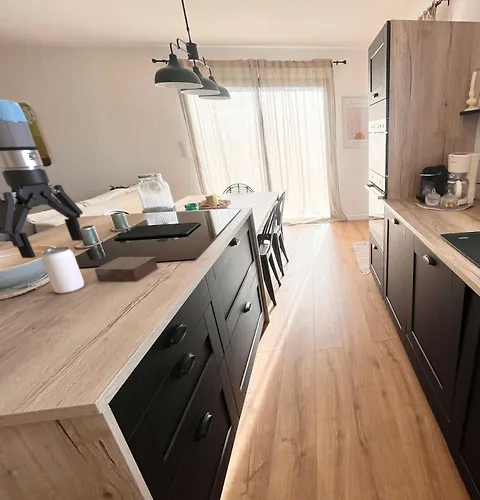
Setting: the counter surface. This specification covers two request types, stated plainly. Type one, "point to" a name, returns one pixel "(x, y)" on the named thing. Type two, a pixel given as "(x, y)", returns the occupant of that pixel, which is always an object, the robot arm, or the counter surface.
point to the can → (62, 269)
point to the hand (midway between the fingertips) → (55, 248)
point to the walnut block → (126, 269)
